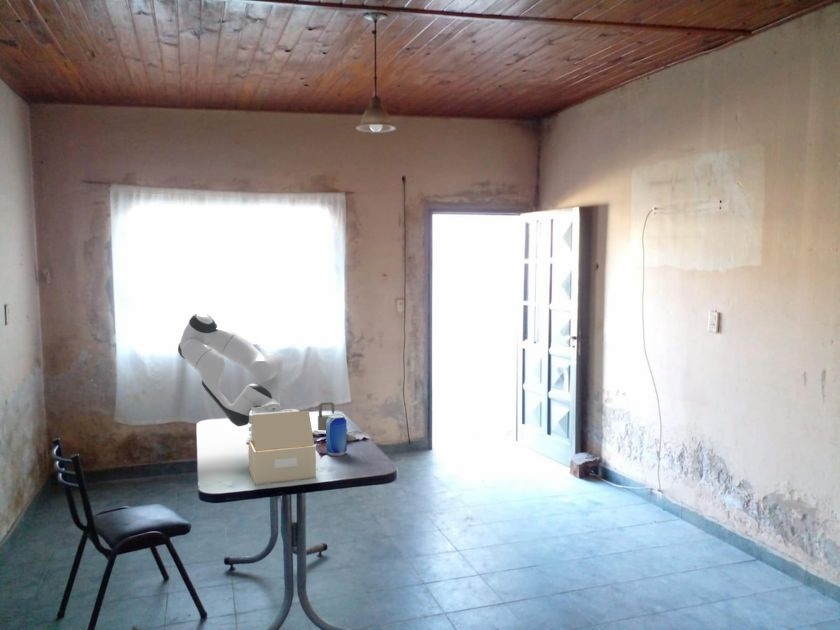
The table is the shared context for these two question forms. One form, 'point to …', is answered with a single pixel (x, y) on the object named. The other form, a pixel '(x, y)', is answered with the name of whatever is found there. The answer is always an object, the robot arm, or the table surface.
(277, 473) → the carton
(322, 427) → the padlock
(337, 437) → the beer can
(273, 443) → the carton flap
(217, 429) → the table surface
